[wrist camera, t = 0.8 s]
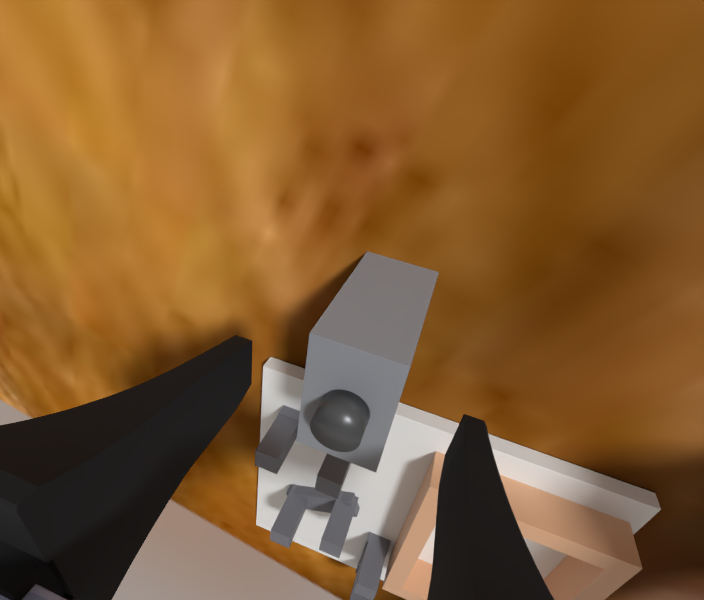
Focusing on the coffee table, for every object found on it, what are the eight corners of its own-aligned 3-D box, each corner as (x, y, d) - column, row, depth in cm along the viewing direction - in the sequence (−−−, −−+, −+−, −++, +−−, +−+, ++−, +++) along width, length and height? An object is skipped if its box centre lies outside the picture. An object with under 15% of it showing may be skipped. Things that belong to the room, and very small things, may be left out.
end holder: (630, 522, 18) (642, 568, 16) (532, 615, 24) (534, 656, 23) (436, 450, 20) (429, 486, 18) (389, 555, 26) (382, 588, 24)
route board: (655, 493, 18) (687, 584, 15) (517, 625, 27) (519, 700, 24) (270, 356, 21) (231, 407, 18) (261, 514, 30) (233, 567, 27)
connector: (438, 271, 16) (402, 391, 10) (409, 363, 19) (368, 498, 13) (367, 250, 16) (295, 353, 11) (348, 343, 19) (283, 464, 13)
